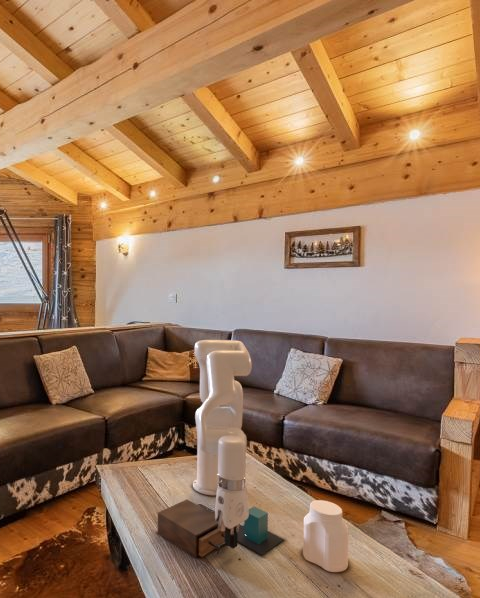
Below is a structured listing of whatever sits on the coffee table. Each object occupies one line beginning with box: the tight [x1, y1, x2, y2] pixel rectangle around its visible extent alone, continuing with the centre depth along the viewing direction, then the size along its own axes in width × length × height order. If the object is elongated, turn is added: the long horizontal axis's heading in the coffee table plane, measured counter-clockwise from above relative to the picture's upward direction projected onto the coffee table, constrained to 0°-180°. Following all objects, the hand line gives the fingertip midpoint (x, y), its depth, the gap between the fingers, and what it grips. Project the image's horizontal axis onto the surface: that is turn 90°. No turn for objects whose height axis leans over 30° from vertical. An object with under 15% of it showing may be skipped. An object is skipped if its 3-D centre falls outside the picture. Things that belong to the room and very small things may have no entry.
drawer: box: [198, 526, 229, 558], centre depth 128 cm, size 19×12×5 cm, turn 38°
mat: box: [237, 525, 285, 557], centre depth 131 cm, size 12×12×1 cm
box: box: [243, 506, 269, 544], centre depth 131 cm, size 5×5×8 cm
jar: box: [302, 499, 350, 573], centre depth 121 cm, size 12×10×15 cm
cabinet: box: [157, 498, 218, 559], centre depth 132 cm, size 16×14×7 cm
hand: (230, 545), depth 120 cm, fingers closed
